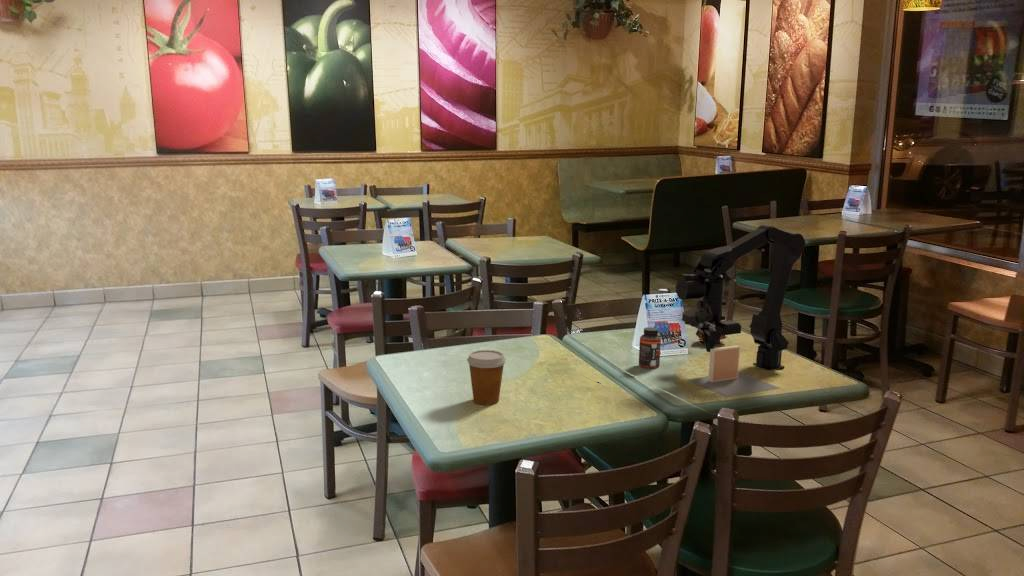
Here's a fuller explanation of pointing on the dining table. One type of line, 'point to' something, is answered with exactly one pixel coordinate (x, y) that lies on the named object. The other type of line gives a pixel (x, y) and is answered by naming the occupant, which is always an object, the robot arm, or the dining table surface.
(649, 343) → the supplement bottle
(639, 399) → the dining table surface
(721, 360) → the tile
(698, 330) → the dragon fruit
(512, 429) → the dining table surface
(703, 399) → the dining table surface
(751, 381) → the mat
